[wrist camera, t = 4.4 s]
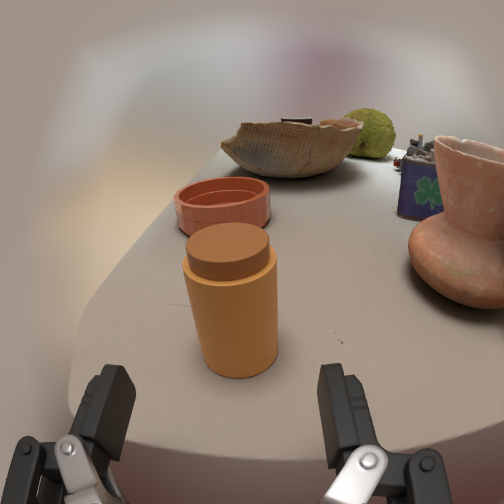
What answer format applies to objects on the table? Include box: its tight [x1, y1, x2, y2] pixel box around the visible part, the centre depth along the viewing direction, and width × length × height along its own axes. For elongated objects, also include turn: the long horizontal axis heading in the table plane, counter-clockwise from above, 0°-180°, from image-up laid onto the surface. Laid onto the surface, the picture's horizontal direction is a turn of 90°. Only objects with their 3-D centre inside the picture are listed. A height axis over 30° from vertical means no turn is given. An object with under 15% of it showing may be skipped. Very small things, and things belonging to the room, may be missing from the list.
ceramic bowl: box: [221, 117, 365, 178], centre depth 59 cm, size 30×27×15 cm
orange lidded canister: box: [182, 223, 278, 378], centre depth 20 cm, size 6×6×9 cm
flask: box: [397, 149, 444, 221], centre depth 38 cm, size 9×3×11 cm, turn 74°
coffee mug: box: [281, 117, 312, 125], centre depth 80 cm, size 12×9×10 cm
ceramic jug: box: [408, 136, 504, 309], centre depth 22 cm, size 18×14×14 cm
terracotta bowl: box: [174, 177, 271, 236], centre depth 42 cm, size 13×13×4 cm
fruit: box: [343, 108, 396, 159], centre depth 73 cm, size 16×14×15 cm
